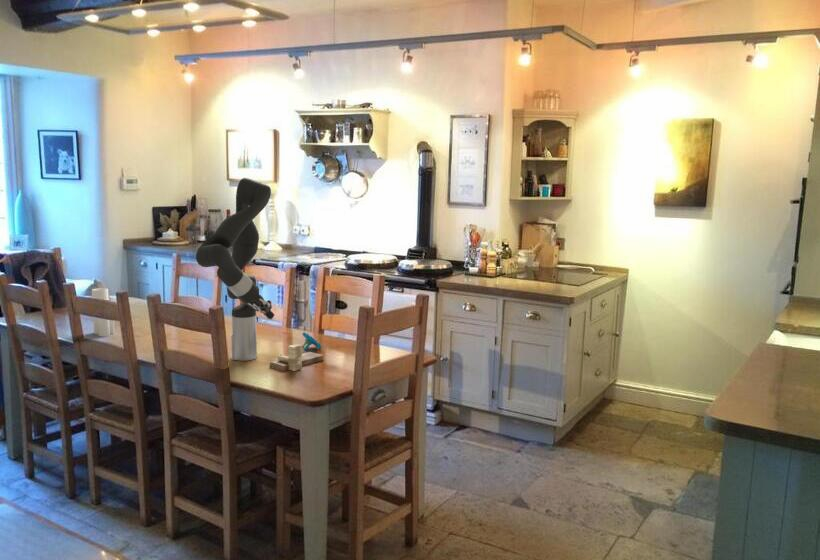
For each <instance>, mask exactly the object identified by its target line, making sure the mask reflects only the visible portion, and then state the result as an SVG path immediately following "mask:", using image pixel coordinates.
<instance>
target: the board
mask: <svg viewBox="0 0 820 560" xmlns="http://www.w3.org/2000/svg"><path fill="white" fill-rule="evenodd" d="M321 360H322V361H324V354H319V353H315V352H312V351H307V352H304V353H303V352H302V367H303V366H307V365H311V364H314V362H315V363H318V361H319V362H321ZM271 367H273V369H275V368H276V370H278V369H279V371H282V370H283V371H282V372H286V371H290V370H289V364H288V363H287V362H284V361H280V360H278V359H275V360H273V361H270V362H269V368H271Z"/></svg>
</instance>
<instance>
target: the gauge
mask: <svg viewBox="0 0 820 560" xmlns="http://www.w3.org/2000/svg"><path fill="white" fill-rule="evenodd" d="M302 346H303V344H298V343H295V344H291V345H288V347H287V348H288V349H287V350H288V351H287V352H288V354H287V355H285V354H284V355H283V354H279V355H278V356H277V360H280V361H284V362H287V363H288V364H289V370H288V371H293V372H296V371H298V370H302V369H303V366H302V353H303V347H302Z"/></svg>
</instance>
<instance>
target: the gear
mask: <svg viewBox="0 0 820 560" xmlns="http://www.w3.org/2000/svg"><path fill="white" fill-rule="evenodd" d="M301 334H302V336H303V337H304V338H305V339H304V344H302V348H303V350H304V351H307V349H308V348H310V346H312V345H314V346H315V347H316V348H318V349H322V348H323V346H322V345H321V343H319V342H318V341H317V340H316V339H315V338H314V337H312V336H311V335H309V334H308V333H306V331H305V332H302V333H301Z"/></svg>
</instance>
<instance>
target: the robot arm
mask: <svg viewBox="0 0 820 560" xmlns="http://www.w3.org/2000/svg"><path fill="white" fill-rule="evenodd" d="M271 195H272V189H271V186H270V185H268V184H266V183H263V182H261V181H258V180H255V179H252V178H249V177H242V178H241V179H240V180H239V182H238V184H237V188H236V194H235V213H234V214H231V215H229V216H227V217H226V218H224V219H223V221H222V222H221V223H220V224H219V226H218V227H217V228H216V230H215V231H214V233H213V234H212V235H210V236H209V237H208V238H207V239H206V240H205V241H204V242H202V244H200V245H199V247H198V249H197V251H196V253H195V260H196V262H197V264H198V265H199V266H201V267H204V268H210V267H218V269H217V271H216V276H217V278H219V280H220V281H222V282H223V284H224V285H225V286H226V293H227V296H228V298H230V299H233V300H239V301H240V302H241V303H240V304H238V305H237V306H235V307H233V308H232V309H231V328H232V329H231V333H232V334H231V339H230V341H231V360H232V361H241V362H242V361H244V362H245V361H252V360H255V359H257V358H258V357H257V356H258V351H257V349H258V348H257V344H258V343H257V338H258V337H257V312H260V313H261V314H263V315H264V316H265V317H266V318H267V319H268V320H273V318H274V317H275V314H274V313H273V311H272V310H271V309H272V307H273V305H272V301H271V300H265V298H264V297H263V296H262V295H261V294H260V288H259V287H258V285H257V279H256V276H254V275H253V274H246V273H245V272H243V270H244V268H246V266H247V265H248V264H249V263H250V262H251V261H252V259H253V258H254V257H255V256H256V254H257V252H258V248H259V241H260V235H259V230H258V229H257V225H256V224H255V222H254V219H255V218H256V217H257V216H258V215H260V213H261V212H262V211H263V210H264V209H265V208H266V206H267V205H268V203H269V202H270V199H271ZM229 248H231V253H230V251H229Z"/></svg>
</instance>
